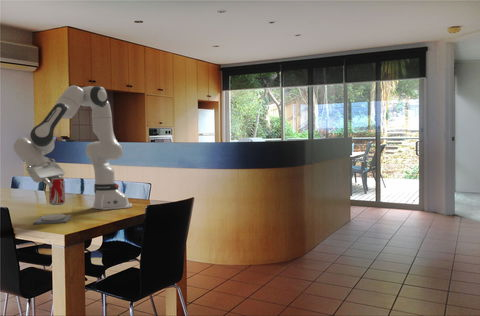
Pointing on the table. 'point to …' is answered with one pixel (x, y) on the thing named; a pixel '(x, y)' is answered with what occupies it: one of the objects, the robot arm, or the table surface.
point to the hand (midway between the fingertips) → (57, 185)
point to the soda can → (57, 191)
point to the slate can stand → (53, 219)
